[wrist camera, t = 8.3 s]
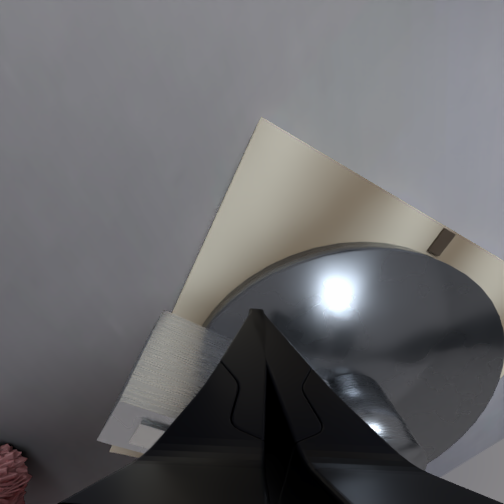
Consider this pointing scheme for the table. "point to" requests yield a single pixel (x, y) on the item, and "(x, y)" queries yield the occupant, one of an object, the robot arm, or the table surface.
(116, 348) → the table surface
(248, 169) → the dial board
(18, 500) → the flower
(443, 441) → the dial
